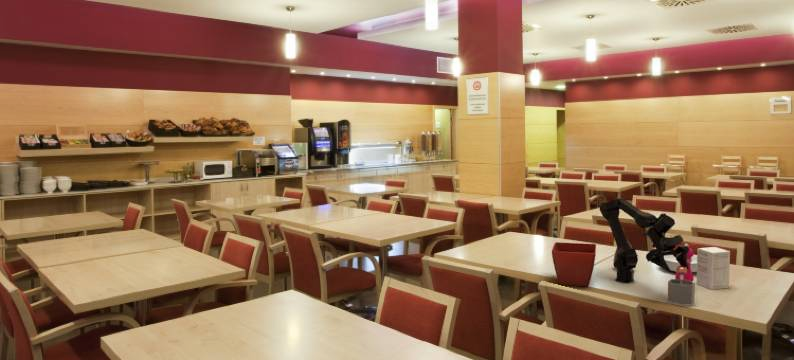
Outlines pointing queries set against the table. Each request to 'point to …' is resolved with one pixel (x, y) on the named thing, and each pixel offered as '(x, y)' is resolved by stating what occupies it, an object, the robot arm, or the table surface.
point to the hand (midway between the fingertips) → (678, 270)
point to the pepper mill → (689, 273)
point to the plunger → (681, 274)
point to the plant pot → (574, 263)
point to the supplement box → (713, 267)
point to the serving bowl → (674, 263)
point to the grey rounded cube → (681, 293)
